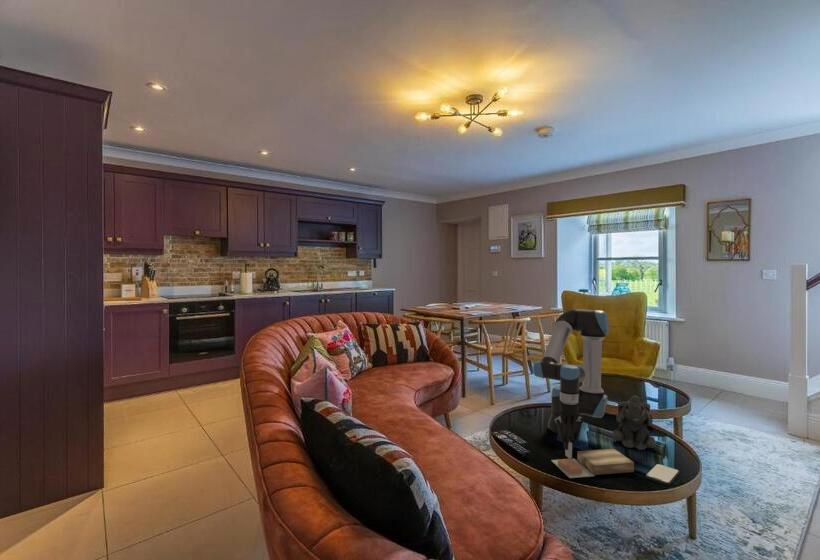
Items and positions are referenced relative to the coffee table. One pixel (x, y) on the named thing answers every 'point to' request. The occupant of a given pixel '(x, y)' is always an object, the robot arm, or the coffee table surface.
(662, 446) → the coffee table surface
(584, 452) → the wooden block
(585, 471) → the mat
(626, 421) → the stuffed elephant
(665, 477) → the phone case
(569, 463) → the salmon orange slab
